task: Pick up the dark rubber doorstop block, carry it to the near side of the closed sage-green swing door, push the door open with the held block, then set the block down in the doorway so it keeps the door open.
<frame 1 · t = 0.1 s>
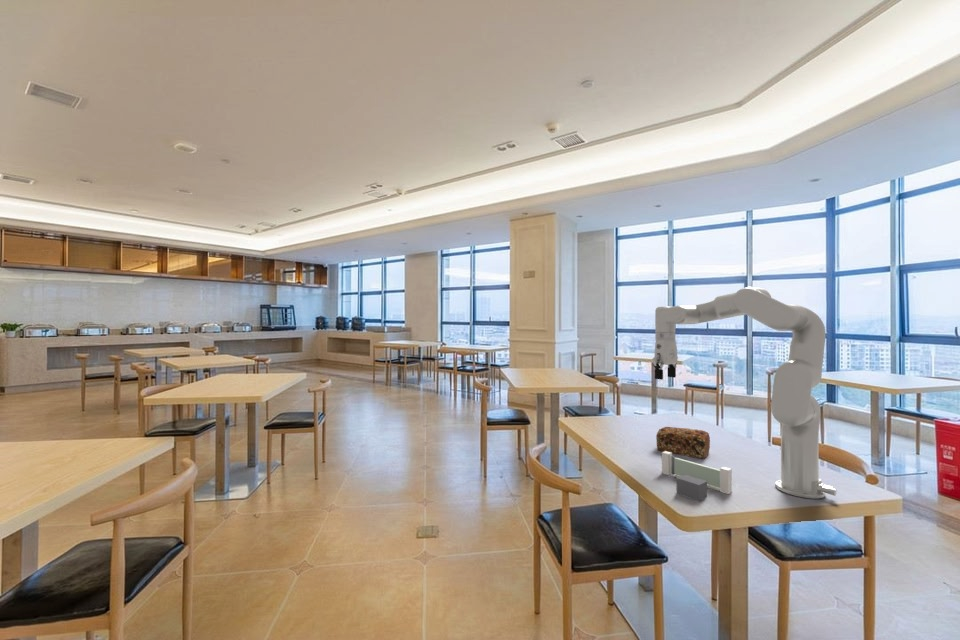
hand: (665, 378, 167), 31 cm above the table, fingers open, 9 cm apart
bread: (682, 452, 169), on the table
doorstop: (691, 495, 128), on the table
door frame: (697, 483, 137), on the table
door: (694, 471, 138), point 4 cm above the table, hinge at 0.0°
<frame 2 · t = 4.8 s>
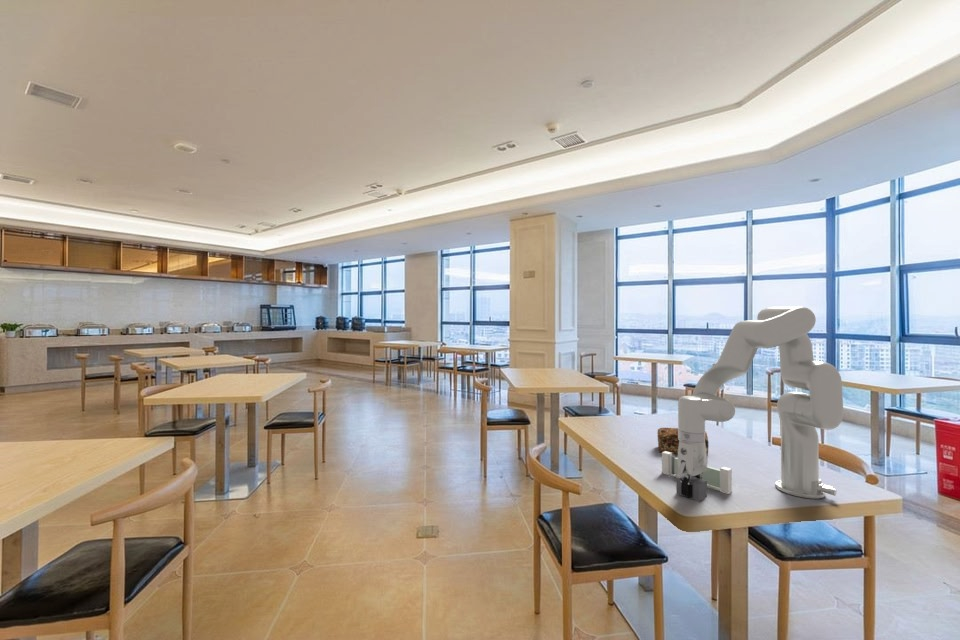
hand: (691, 493, 128), 1 cm above the table, fingers closed on doorstop, 5 cm apart
doorstop: (691, 494, 128), on the table, touching gripper
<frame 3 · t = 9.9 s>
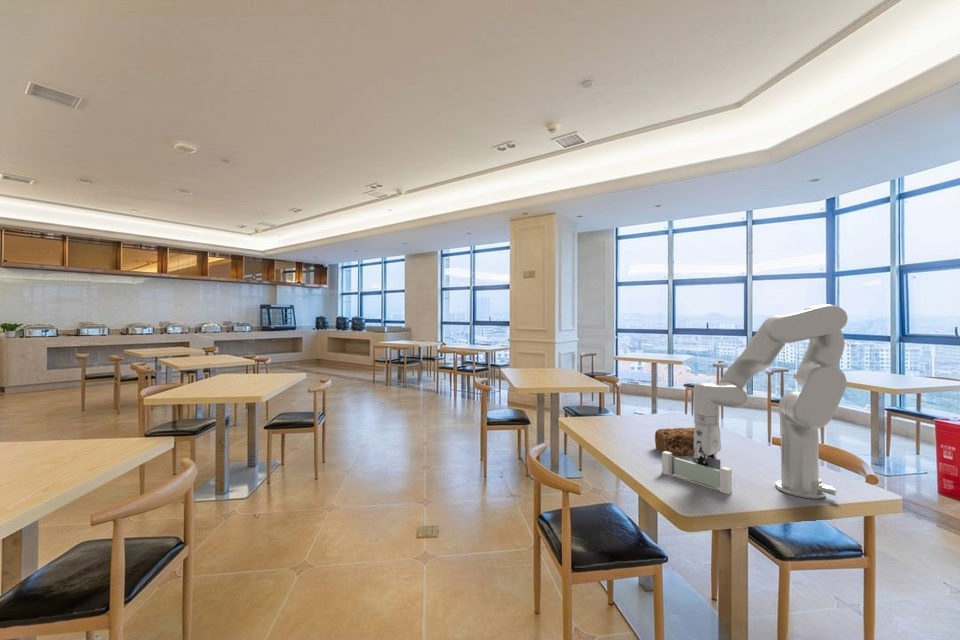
hand: (706, 471, 140), 3 cm above the table, fingers closed on doorstop, 5 cm apart
doorstop: (706, 473, 140), point 2 cm above the table, touching gripper
door: (694, 471, 138), point 4 cm above the table, hinge at 1.7°, touching gripper
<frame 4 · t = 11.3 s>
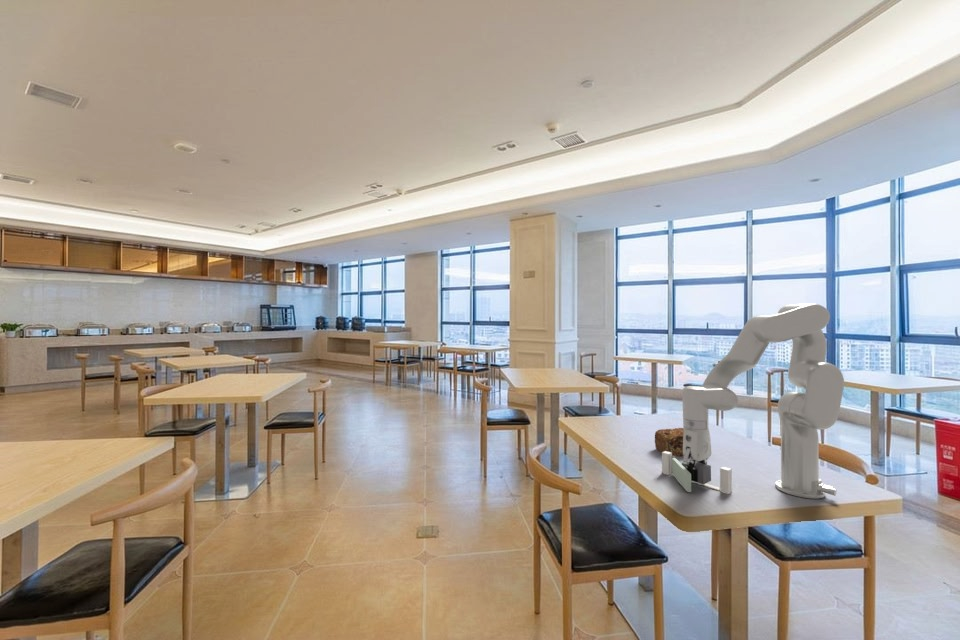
hand: (696, 477, 135), 3 cm above the table, fingers closed on doorstop, 5 cm apart
doorstop: (696, 479, 135), point 2 cm above the table, touching door, gripper
door: (680, 473, 136), point 4 cm above the table, hinge at 44.6°, touching doorstop
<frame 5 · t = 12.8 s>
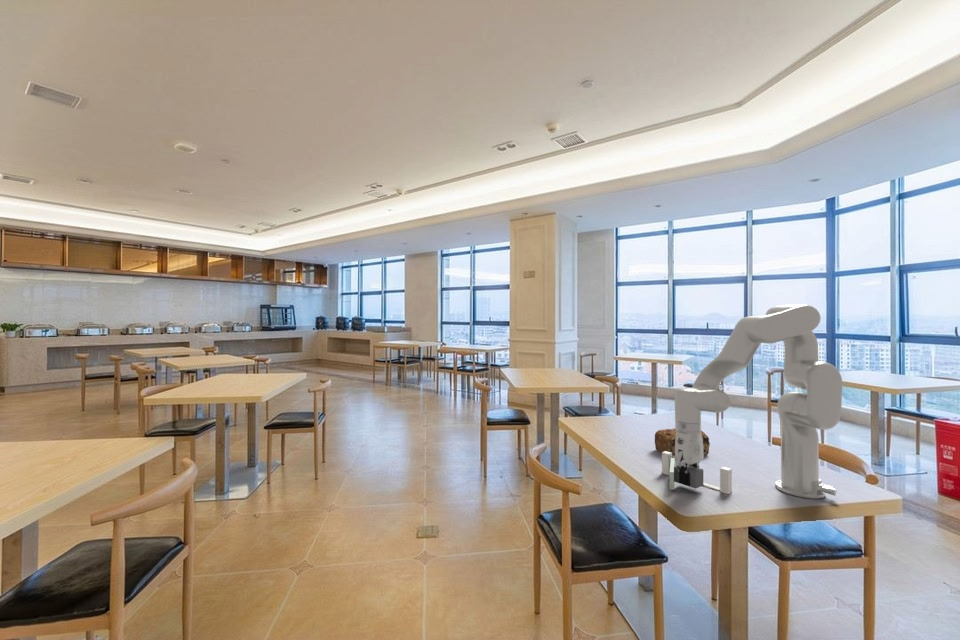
hand: (689, 481, 132), 2 cm above the table, fingers closed on doorstop, 5 cm apart
doorstop: (688, 483, 132), point 2 cm above the table, touching door, gripper
door: (672, 472, 137), point 4 cm above the table, hinge at 63.0°, touching doorstop
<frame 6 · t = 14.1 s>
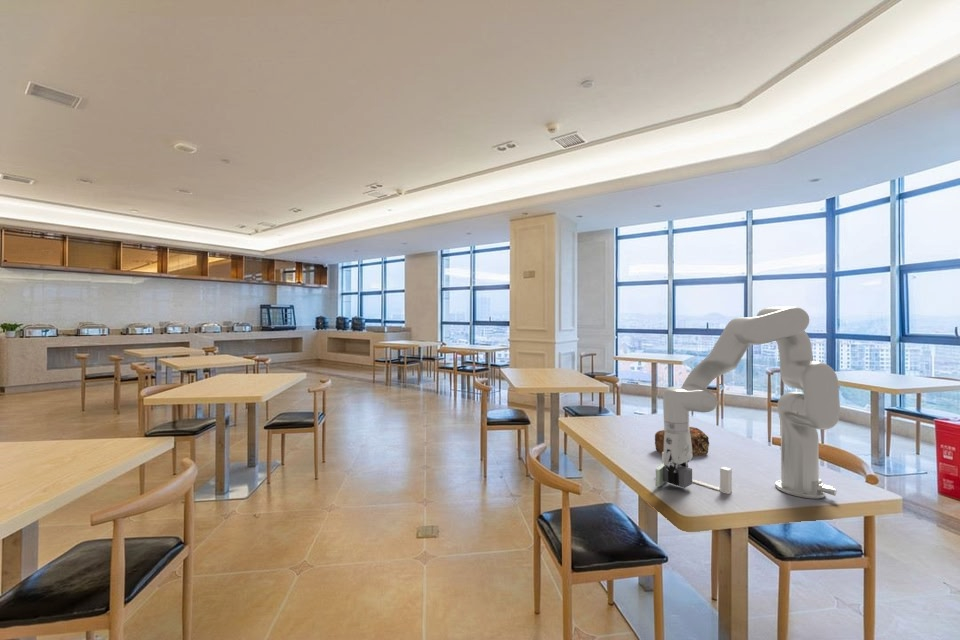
hand: (678, 481, 133), 2 cm above the table, fingers closed on doorstop, 5 cm apart
doorstop: (677, 482, 133), point 2 cm above the table, touching door, gripper
door: (665, 471, 138), point 4 cm above the table, hinge at 78.3°, touching doorstop
when the fingers open (2 cm above the table, at t = 14.9 s): doorstop drops 2 cm, on the table.
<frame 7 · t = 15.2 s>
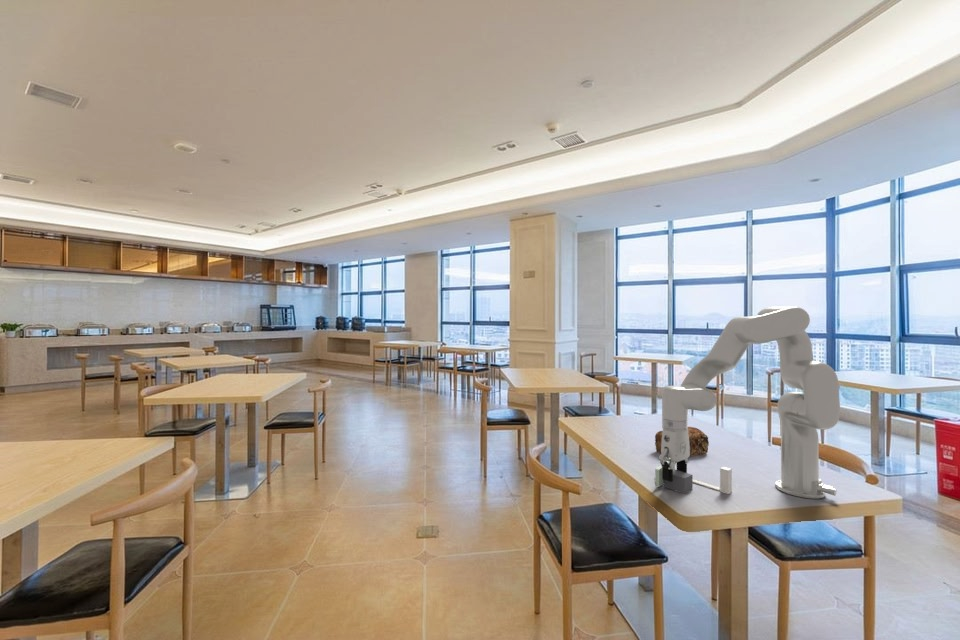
hand: (674, 477, 133), 4 cm above the table, fingers open, 8 cm apart
doorstop: (677, 488, 133), on the table
door: (665, 471, 138), point 4 cm above the table, hinge at 78.6°
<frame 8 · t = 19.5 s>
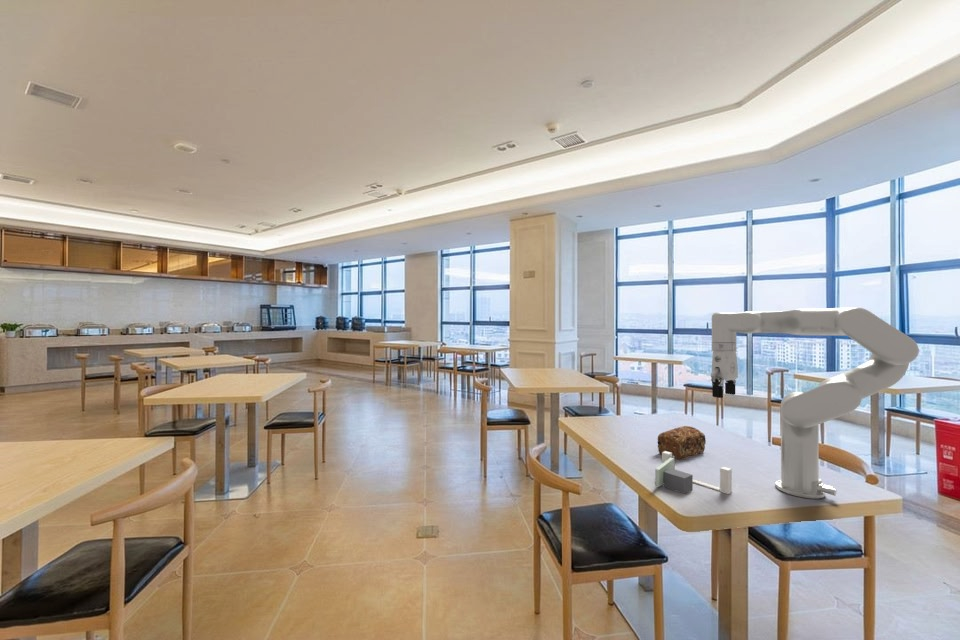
hand: (724, 395, 143), 28 cm above the table, fingers open, 9 cm apart
at the end: door at +79° (first picture: +0°); doorstop inside the target area (1.0 cm from its centre), on the table; the gripper is holding nothing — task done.
